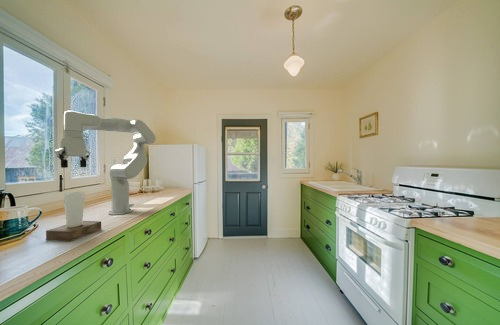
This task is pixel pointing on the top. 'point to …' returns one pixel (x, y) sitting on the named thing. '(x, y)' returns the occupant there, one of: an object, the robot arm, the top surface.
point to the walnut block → (73, 231)
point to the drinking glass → (74, 208)
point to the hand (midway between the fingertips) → (74, 167)
